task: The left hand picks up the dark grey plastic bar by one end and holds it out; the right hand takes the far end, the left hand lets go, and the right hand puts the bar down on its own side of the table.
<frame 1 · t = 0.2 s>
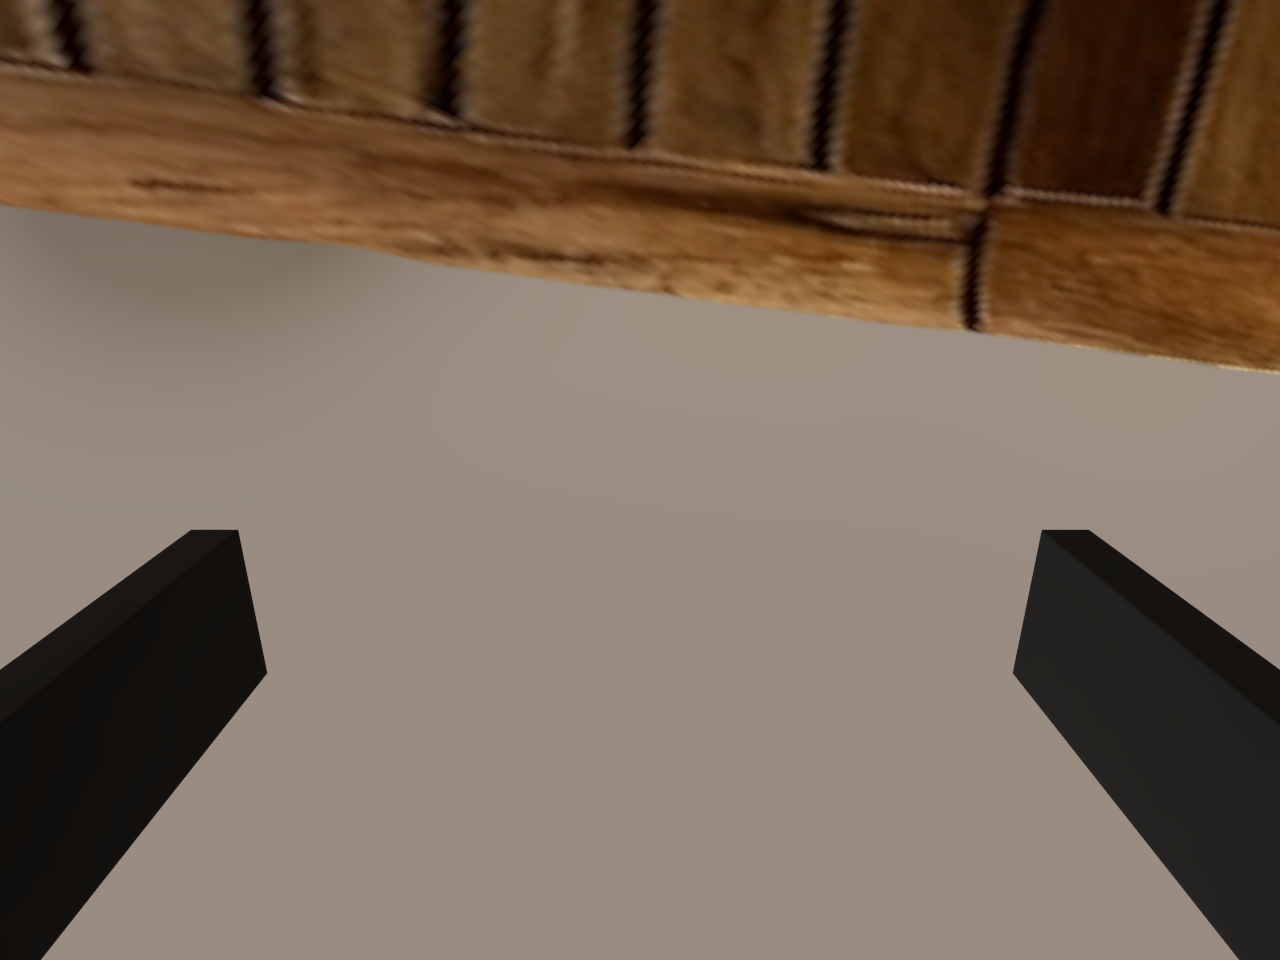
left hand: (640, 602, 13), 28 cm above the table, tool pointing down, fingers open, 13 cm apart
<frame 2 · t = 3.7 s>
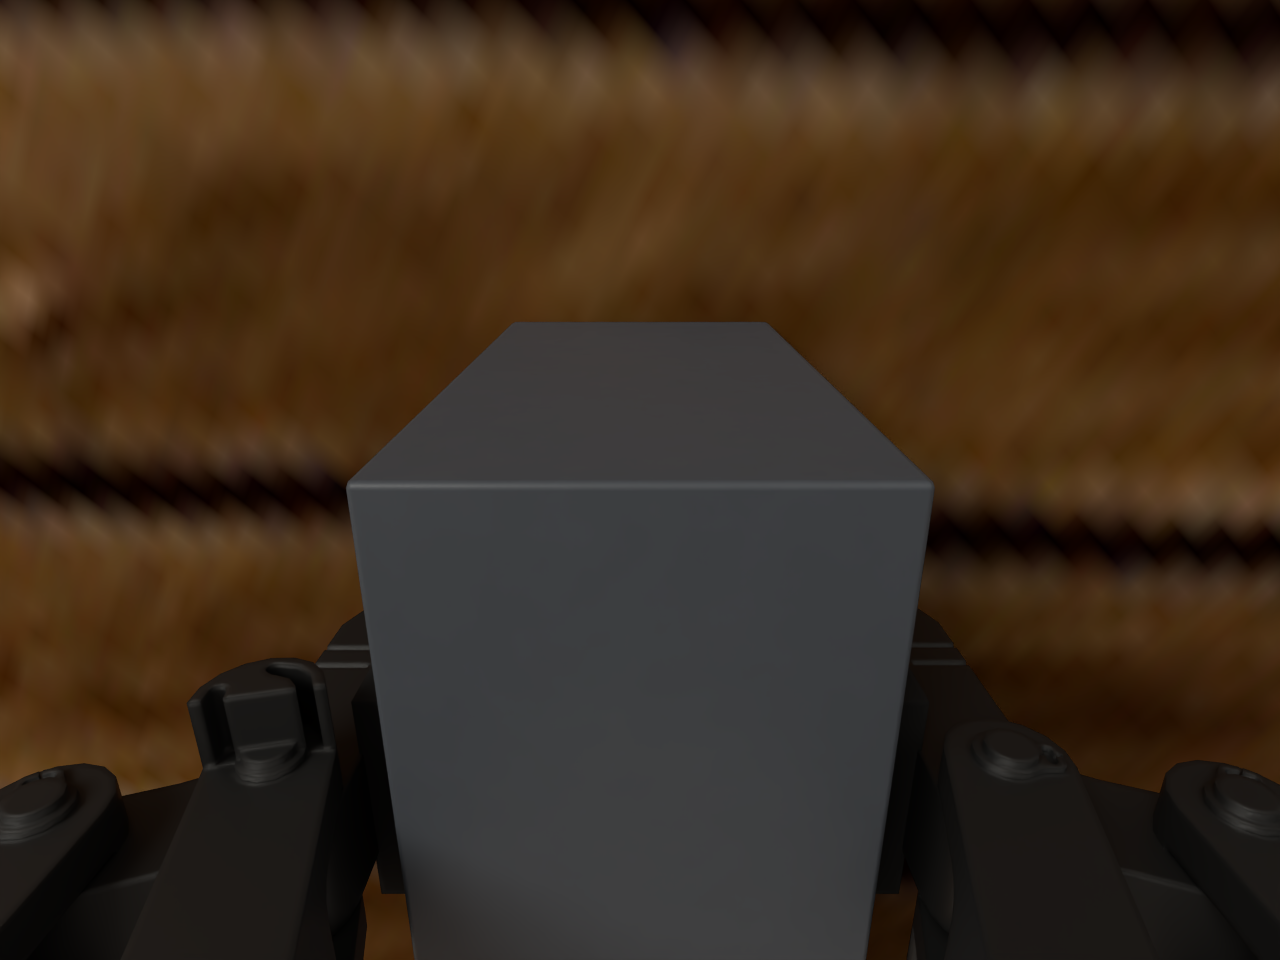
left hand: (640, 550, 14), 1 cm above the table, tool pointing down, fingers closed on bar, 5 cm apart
bar: (640, 855, 18), on the table, touching left hand
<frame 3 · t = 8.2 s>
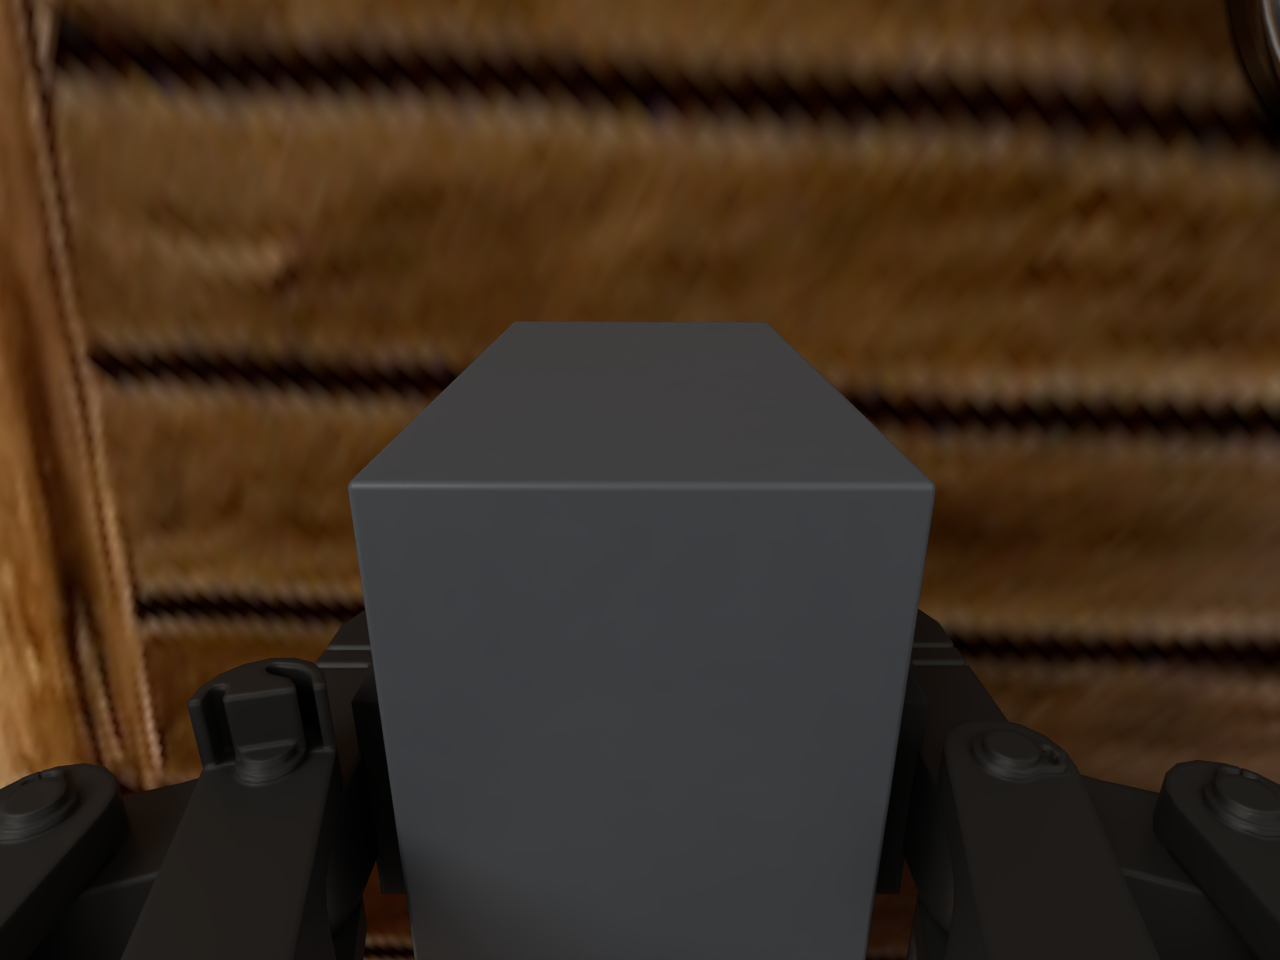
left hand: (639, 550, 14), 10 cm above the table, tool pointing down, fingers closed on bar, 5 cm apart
bar: (639, 854, 18), point 10 cm above the table, touching left hand, right hand
when the left hand's fingers open (10 cm above the table, at t = 9.0 s): bar stays where it is, held by the right hand.
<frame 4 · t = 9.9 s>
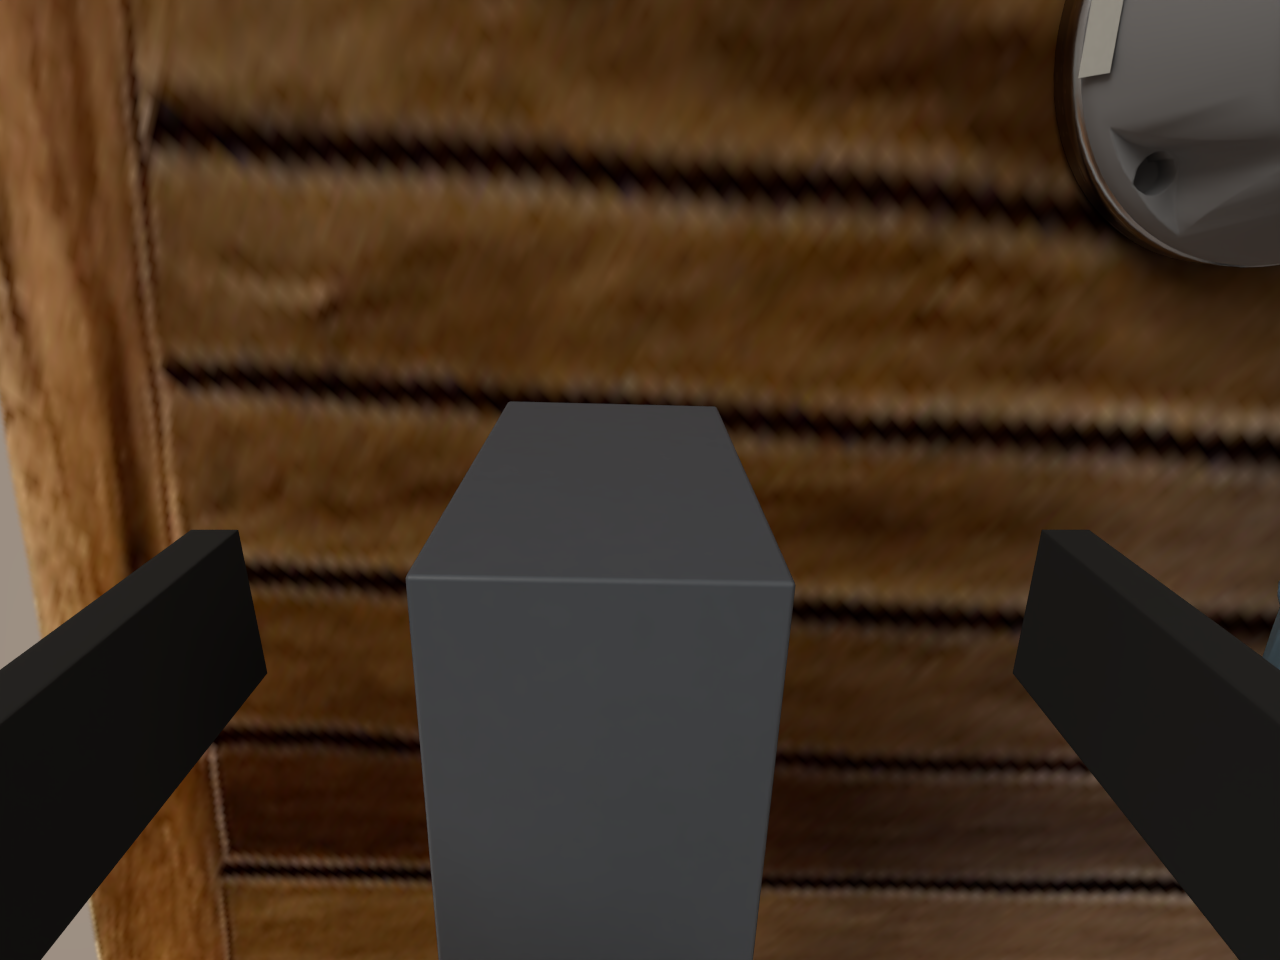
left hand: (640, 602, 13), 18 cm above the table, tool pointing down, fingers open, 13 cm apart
bar: (604, 843, 21), point 13 cm above the table, touching right hand
when the right hand's fingers open (2 cm above the table, at t = 15.8 s): bar drops 2 cm, on the table.
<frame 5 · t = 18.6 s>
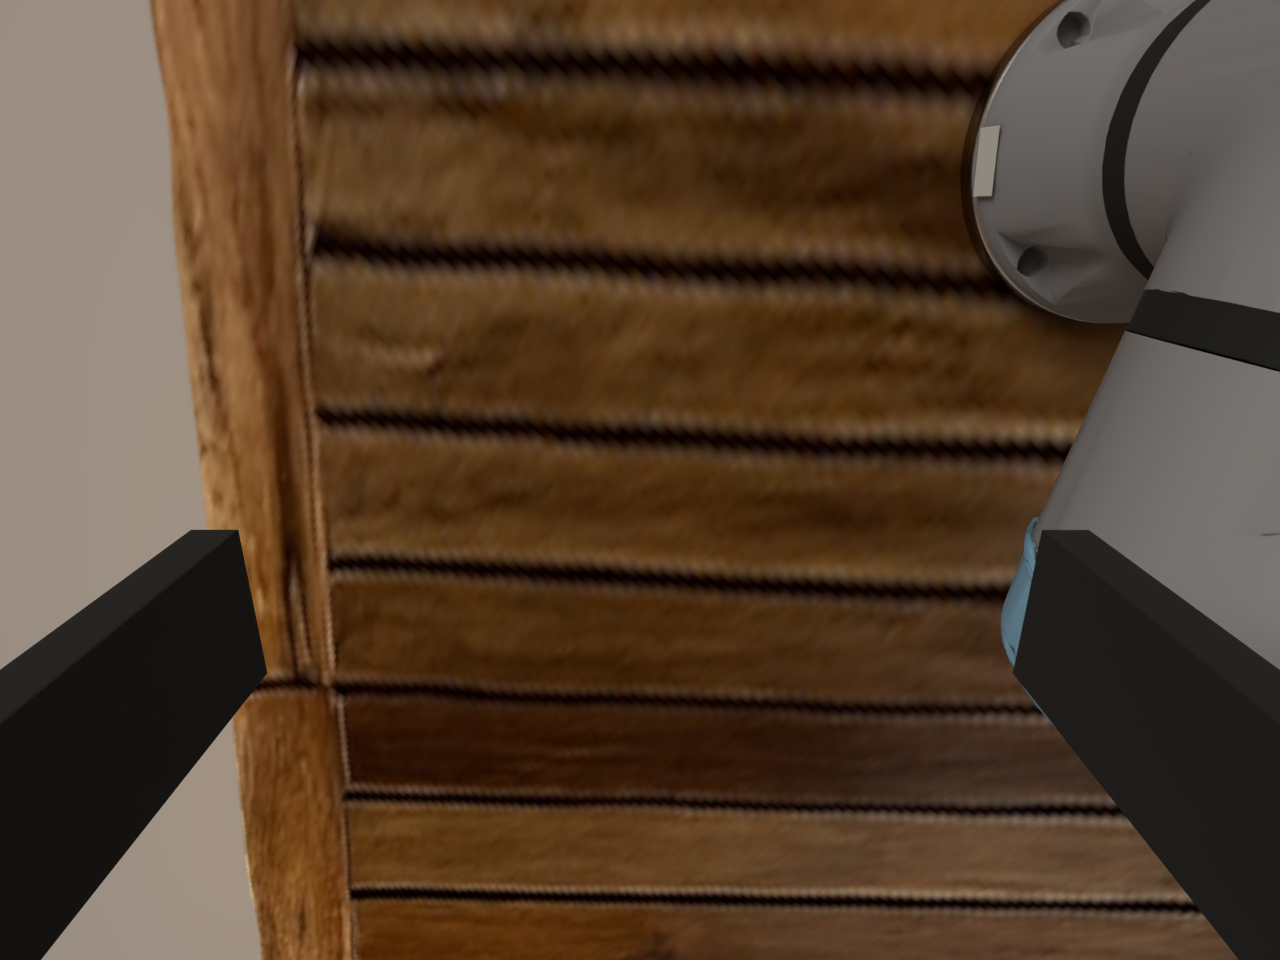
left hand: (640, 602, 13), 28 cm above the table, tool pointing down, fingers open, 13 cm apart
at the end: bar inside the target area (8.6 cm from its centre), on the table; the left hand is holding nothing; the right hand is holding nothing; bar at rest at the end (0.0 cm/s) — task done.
